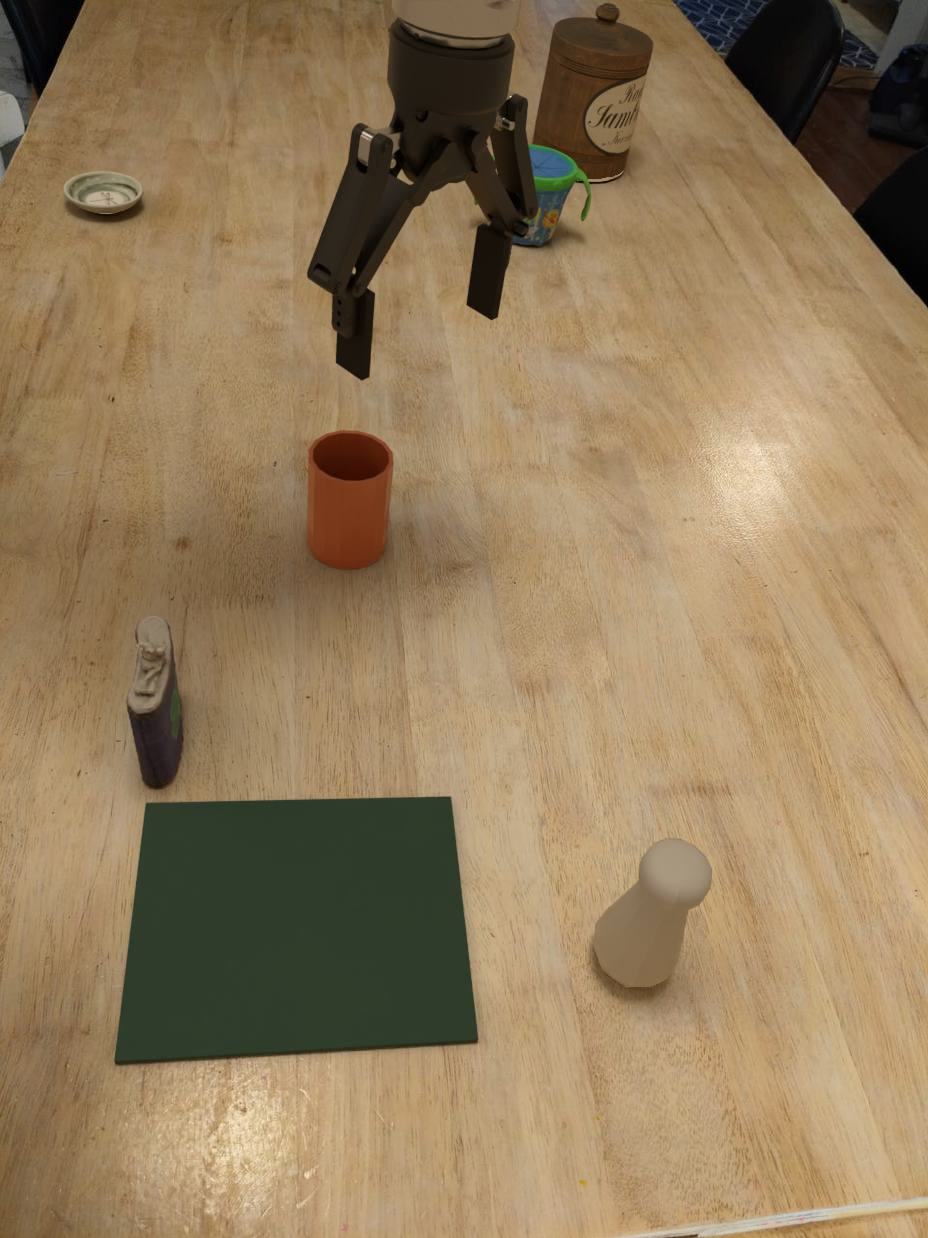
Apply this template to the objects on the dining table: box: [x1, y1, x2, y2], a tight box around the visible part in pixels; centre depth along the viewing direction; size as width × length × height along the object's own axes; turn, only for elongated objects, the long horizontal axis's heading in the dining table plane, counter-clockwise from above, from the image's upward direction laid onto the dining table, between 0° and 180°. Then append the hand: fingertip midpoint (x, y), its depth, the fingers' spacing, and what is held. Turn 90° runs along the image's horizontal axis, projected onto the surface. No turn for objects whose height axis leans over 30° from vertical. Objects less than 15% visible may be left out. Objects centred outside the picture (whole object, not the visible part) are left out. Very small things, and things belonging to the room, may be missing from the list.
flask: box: [125, 615, 184, 790], centre depth 73 cm, size 9×3×11 cm, turn 7°
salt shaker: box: [592, 837, 713, 989], centre depth 65 cm, size 6×6×13 cm
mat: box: [113, 795, 479, 1065], centre depth 69 cm, size 22×18×1 cm
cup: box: [306, 429, 395, 570], centre depth 91 cm, size 7×7×10 cm
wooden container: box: [531, 2, 654, 179], centre depth 151 cm, size 15×15×22 cm
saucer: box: [62, 170, 144, 214], centre depth 130 cm, size 10×10×2 cm
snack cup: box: [473, 143, 592, 247], centre depth 136 cm, size 16×10×10 cm
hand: (420, 339), depth 76 cm, fingers open, 13 cm apart
